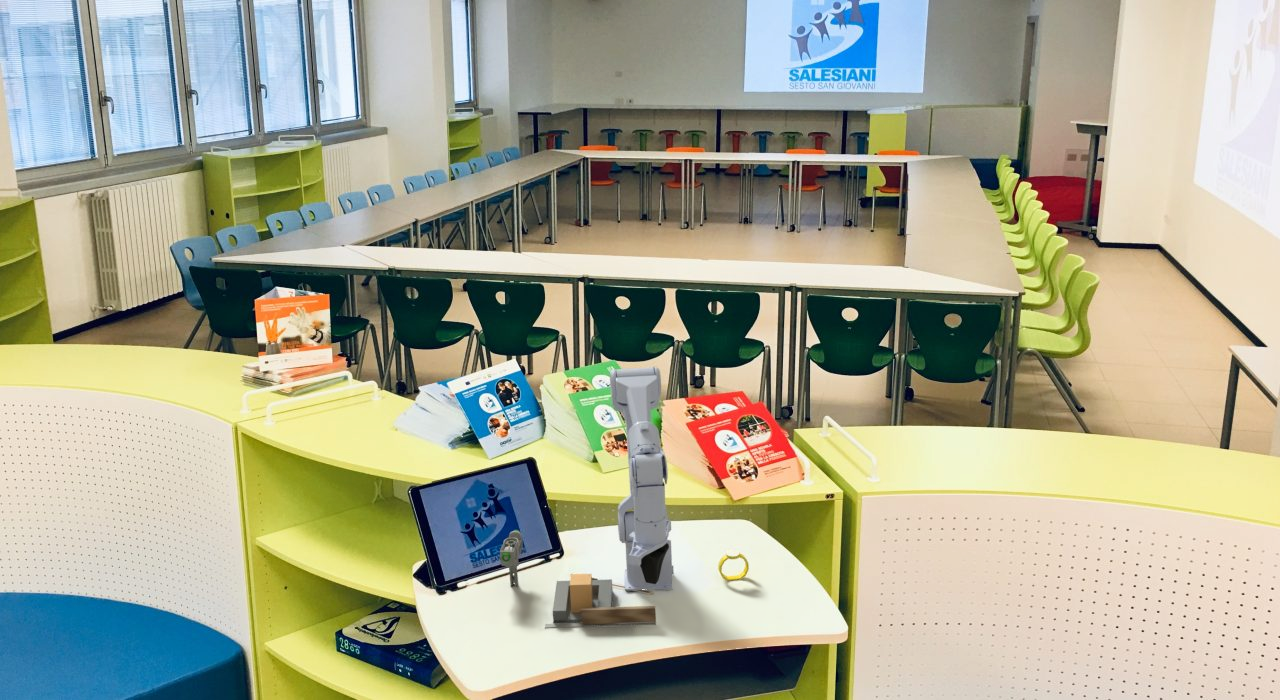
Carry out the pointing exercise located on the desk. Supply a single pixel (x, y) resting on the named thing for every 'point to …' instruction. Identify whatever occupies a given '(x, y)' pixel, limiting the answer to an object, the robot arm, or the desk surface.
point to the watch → (733, 555)
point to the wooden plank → (618, 615)
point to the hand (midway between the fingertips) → (651, 581)
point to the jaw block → (581, 592)
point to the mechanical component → (512, 554)
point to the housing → (564, 615)
